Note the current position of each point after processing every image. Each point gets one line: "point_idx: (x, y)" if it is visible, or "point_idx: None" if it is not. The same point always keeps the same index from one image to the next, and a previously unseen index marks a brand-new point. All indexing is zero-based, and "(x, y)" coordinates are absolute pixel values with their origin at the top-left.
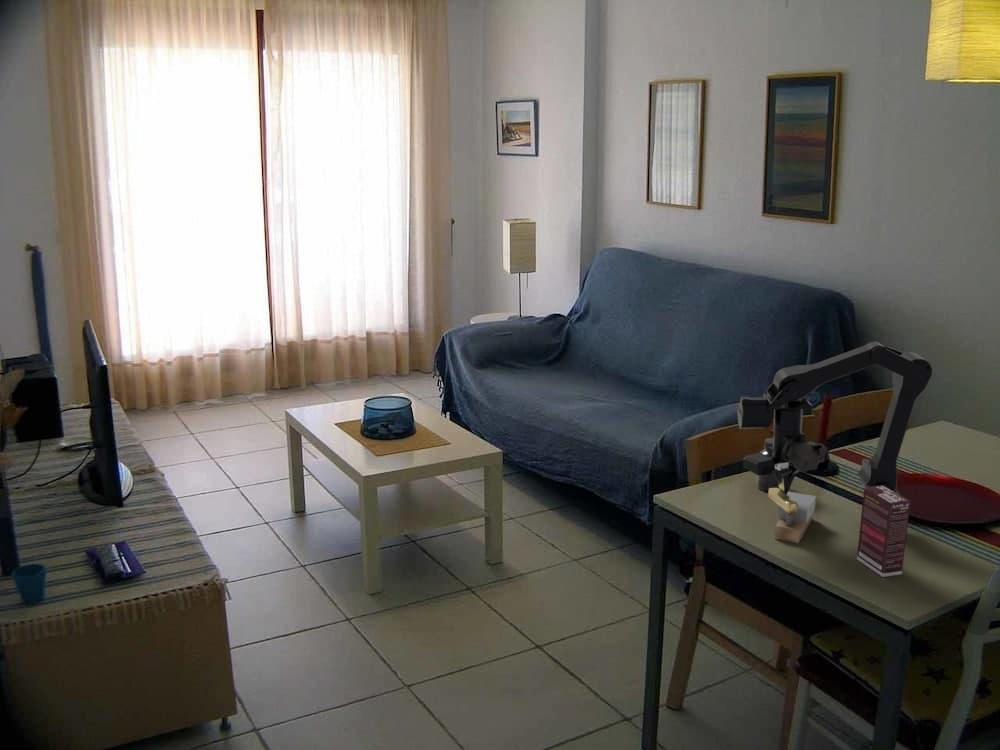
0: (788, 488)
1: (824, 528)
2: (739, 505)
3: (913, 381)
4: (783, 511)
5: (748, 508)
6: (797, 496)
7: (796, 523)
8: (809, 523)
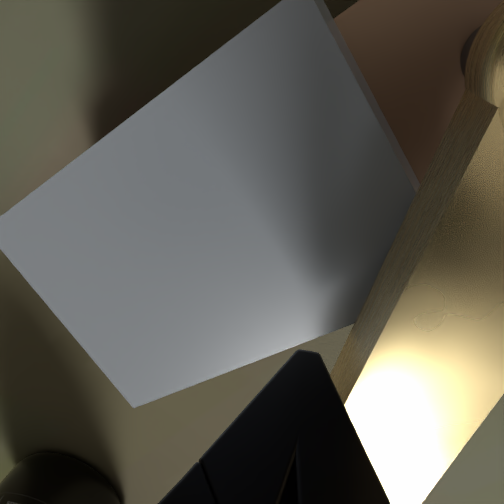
0: (278, 396)
1: (111, 49)
2: None
3: None
4: None
5: None
6: (130, 313)
7: (390, 58)
8: None
